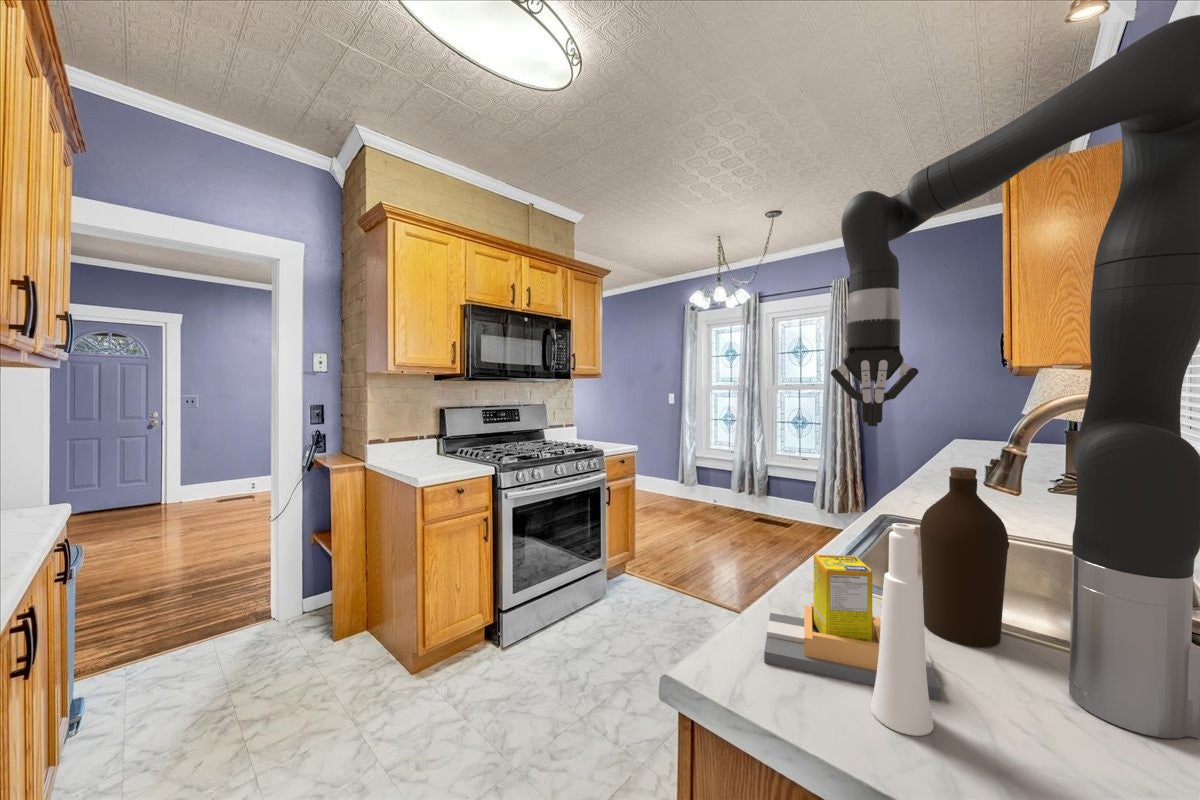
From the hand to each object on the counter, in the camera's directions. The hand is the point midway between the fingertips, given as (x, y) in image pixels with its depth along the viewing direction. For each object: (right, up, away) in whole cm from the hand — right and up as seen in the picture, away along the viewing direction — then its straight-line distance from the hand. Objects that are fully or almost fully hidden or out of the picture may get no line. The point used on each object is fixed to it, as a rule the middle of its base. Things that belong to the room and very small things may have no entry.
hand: (871, 425), depth 78 cm
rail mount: (-11, -31, -12) cm, 35 cm away
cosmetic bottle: (-11, -32, -24) cm, 41 cm away
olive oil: (+10, -31, -6) cm, 33 cm away
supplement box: (-11, -29, -11) cm, 33 cm away
